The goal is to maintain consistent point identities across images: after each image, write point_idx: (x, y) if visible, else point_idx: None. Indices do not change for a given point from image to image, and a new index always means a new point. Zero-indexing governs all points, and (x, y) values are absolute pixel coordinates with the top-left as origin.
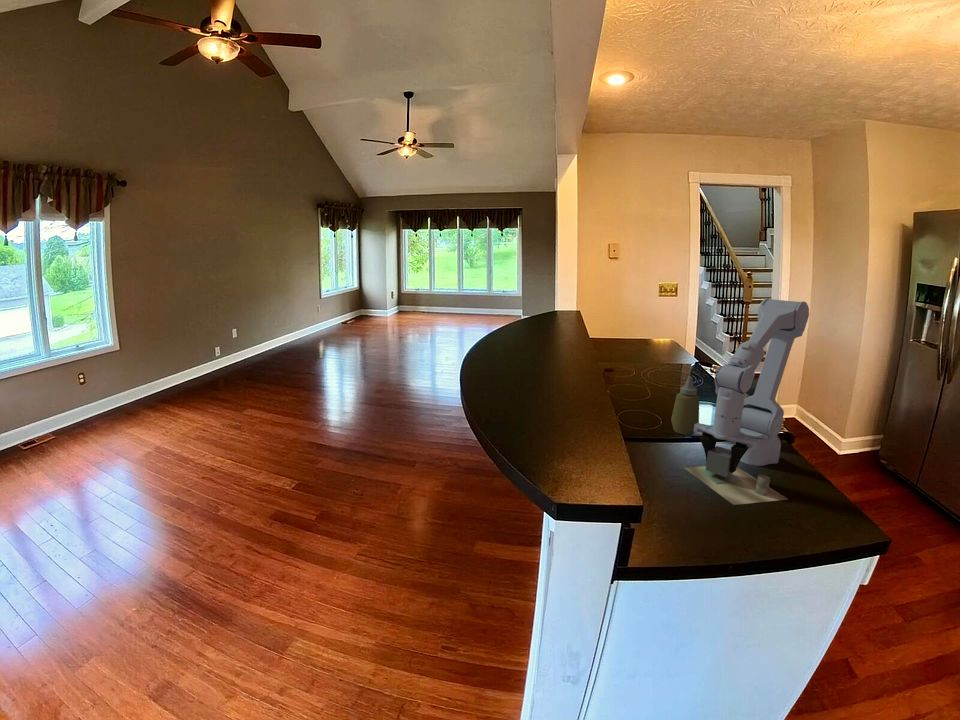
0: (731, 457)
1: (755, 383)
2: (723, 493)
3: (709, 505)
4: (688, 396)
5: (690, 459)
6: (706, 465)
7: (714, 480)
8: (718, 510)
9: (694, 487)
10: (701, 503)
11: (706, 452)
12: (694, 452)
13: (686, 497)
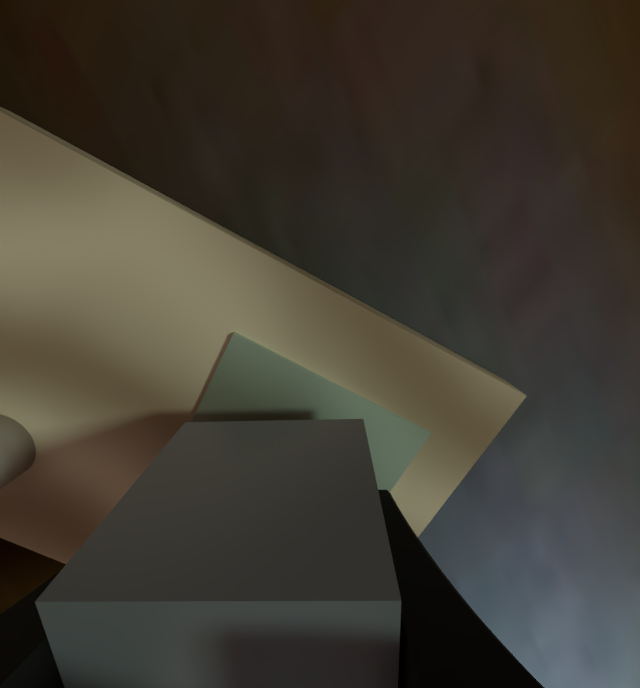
0: (39, 641)
1: None
2: (116, 220)
3: (143, 41)
4: None
5: (541, 581)
6: (364, 443)
7: (265, 365)
8: (64, 21)
9: (355, 235)
10: (194, 14)
11: (431, 591)
12: (556, 668)
13: (317, 4)
